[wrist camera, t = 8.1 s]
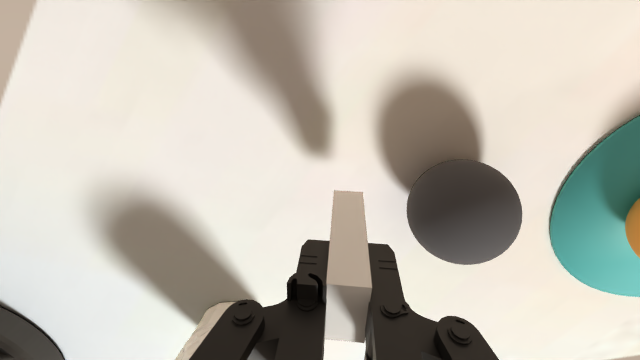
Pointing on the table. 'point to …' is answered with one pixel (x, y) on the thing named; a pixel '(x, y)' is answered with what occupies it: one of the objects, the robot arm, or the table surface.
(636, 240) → the object ball
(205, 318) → the white cup
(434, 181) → the dark grey sphere
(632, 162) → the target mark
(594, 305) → the table surface
